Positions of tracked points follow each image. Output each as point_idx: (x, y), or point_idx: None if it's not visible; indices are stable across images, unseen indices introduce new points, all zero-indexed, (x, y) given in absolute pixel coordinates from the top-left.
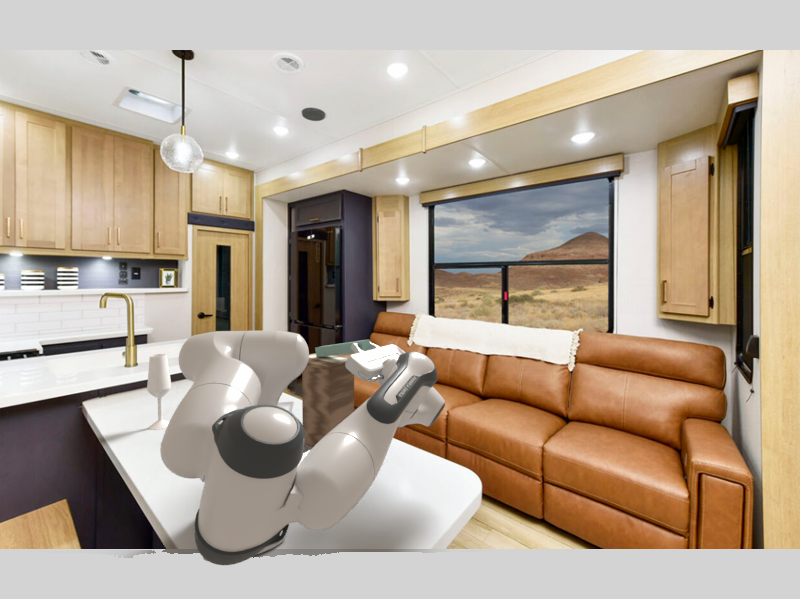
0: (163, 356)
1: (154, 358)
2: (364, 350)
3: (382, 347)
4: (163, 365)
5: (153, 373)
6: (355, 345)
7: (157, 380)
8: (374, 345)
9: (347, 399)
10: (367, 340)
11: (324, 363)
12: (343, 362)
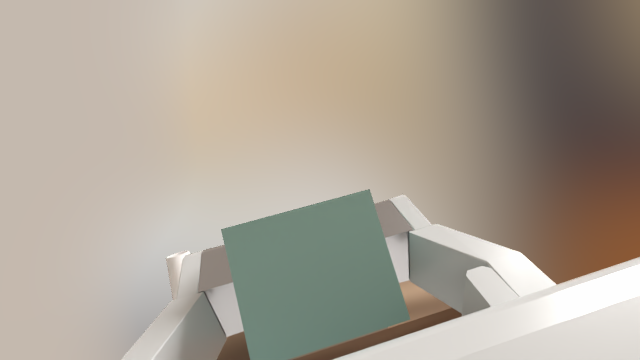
0: (177, 256)
1: (167, 260)
2: (280, 345)
3: (587, 302)
4: (179, 270)
5: (171, 283)
6: (180, 282)
7: (176, 294)
8: (459, 255)
9: None
10: (333, 206)
11: (228, 346)
12: (310, 354)
